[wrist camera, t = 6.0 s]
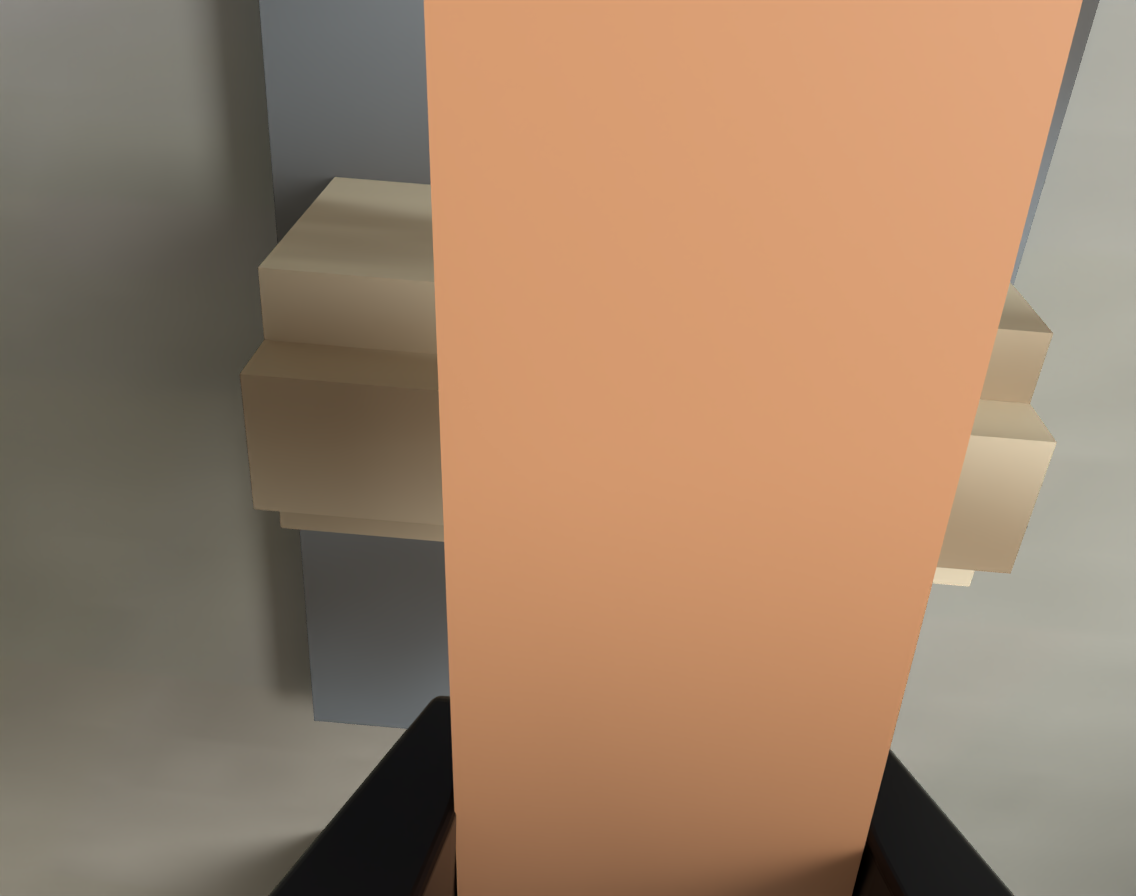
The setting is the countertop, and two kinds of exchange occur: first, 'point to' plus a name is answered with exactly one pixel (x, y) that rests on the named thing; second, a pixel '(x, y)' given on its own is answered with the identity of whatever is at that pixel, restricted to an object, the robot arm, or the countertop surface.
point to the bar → (708, 410)
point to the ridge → (410, 371)
